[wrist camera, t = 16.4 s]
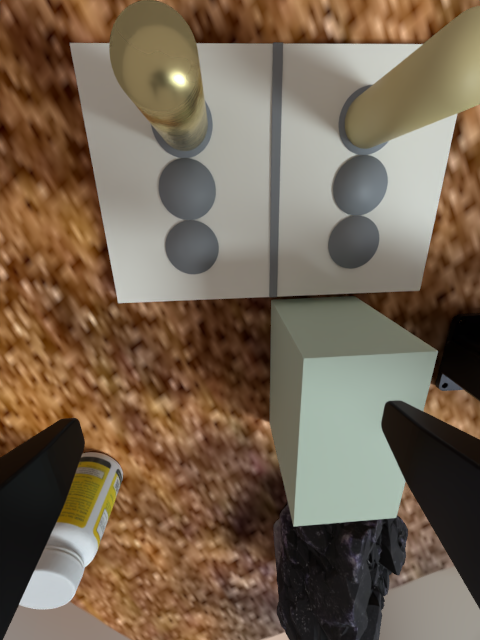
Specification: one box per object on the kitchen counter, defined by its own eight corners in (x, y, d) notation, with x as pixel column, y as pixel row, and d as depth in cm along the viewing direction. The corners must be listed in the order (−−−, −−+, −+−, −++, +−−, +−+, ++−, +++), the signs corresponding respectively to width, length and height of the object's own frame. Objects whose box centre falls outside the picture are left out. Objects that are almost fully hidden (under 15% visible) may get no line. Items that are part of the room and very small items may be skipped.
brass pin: (205, 91, 15) (193, -2, 8) (210, 149, 16) (203, 109, 9) (153, 93, 14) (99, 1, 8) (161, 152, 15) (119, 112, 9)
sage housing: (354, 296, 21) (438, 351, 13) (339, 417, 24) (396, 517, 17) (271, 299, 20) (303, 358, 12) (269, 422, 24) (293, 526, 16)
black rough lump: (395, 456, 28) (472, 574, 18) (397, 556, 32) (461, 696, 22) (258, 472, 29) (263, 590, 19) (276, 566, 33) (287, 704, 23)
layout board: (454, 55, 16) (672, -87, 8) (409, 286, 21) (520, 332, 13) (80, 55, 15) (-68, -108, 7) (124, 297, 20) (62, 355, 12)
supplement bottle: (55, 464, 24) (-24, 586, 17) (100, 441, 24) (41, 555, 16) (92, 498, 26) (37, 622, 18) (135, 477, 25) (97, 596, 18)
